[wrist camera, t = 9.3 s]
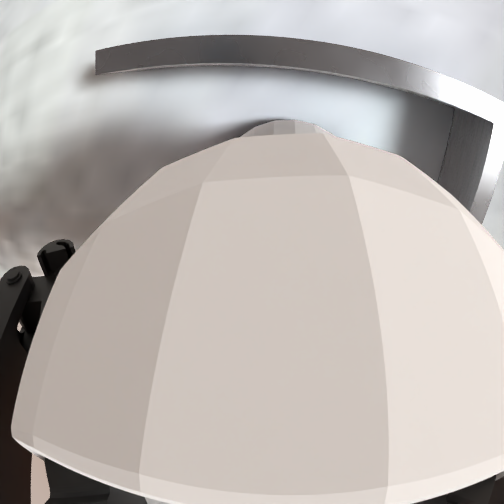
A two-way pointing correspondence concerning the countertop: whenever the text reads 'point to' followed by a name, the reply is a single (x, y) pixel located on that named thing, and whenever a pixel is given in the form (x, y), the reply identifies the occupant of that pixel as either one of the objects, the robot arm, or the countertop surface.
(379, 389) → the cup
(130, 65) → the channel
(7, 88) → the countertop surface
